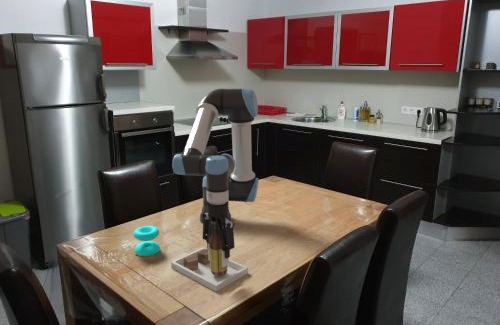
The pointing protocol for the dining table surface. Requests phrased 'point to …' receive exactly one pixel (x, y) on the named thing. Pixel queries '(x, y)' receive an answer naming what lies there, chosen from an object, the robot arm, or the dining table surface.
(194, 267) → the walnut block
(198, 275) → the tray
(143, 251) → the donuts
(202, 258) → the walnut block
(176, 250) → the dining table surface
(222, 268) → the sauce bottle
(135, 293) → the dining table surface
